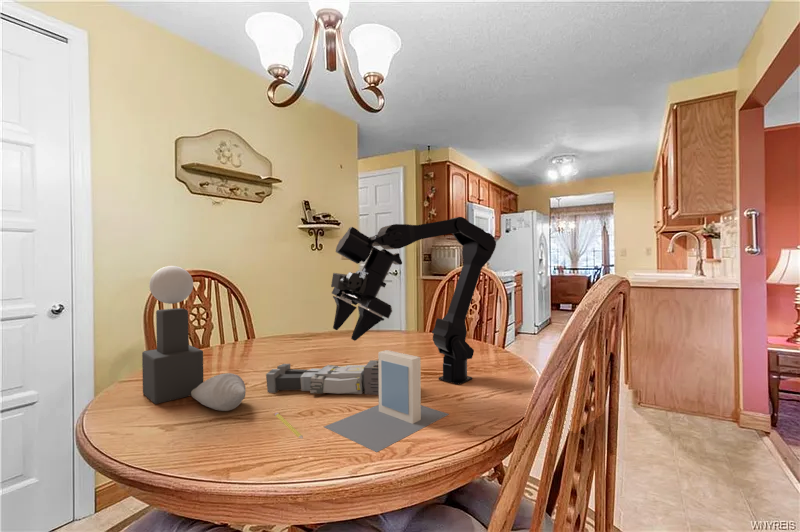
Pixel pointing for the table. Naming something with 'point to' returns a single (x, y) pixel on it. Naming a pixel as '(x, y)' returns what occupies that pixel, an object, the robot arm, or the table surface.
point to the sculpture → (171, 341)
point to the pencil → (289, 426)
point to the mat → (381, 427)
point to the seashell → (221, 392)
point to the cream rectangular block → (400, 385)
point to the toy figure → (326, 379)
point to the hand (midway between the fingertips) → (343, 334)
